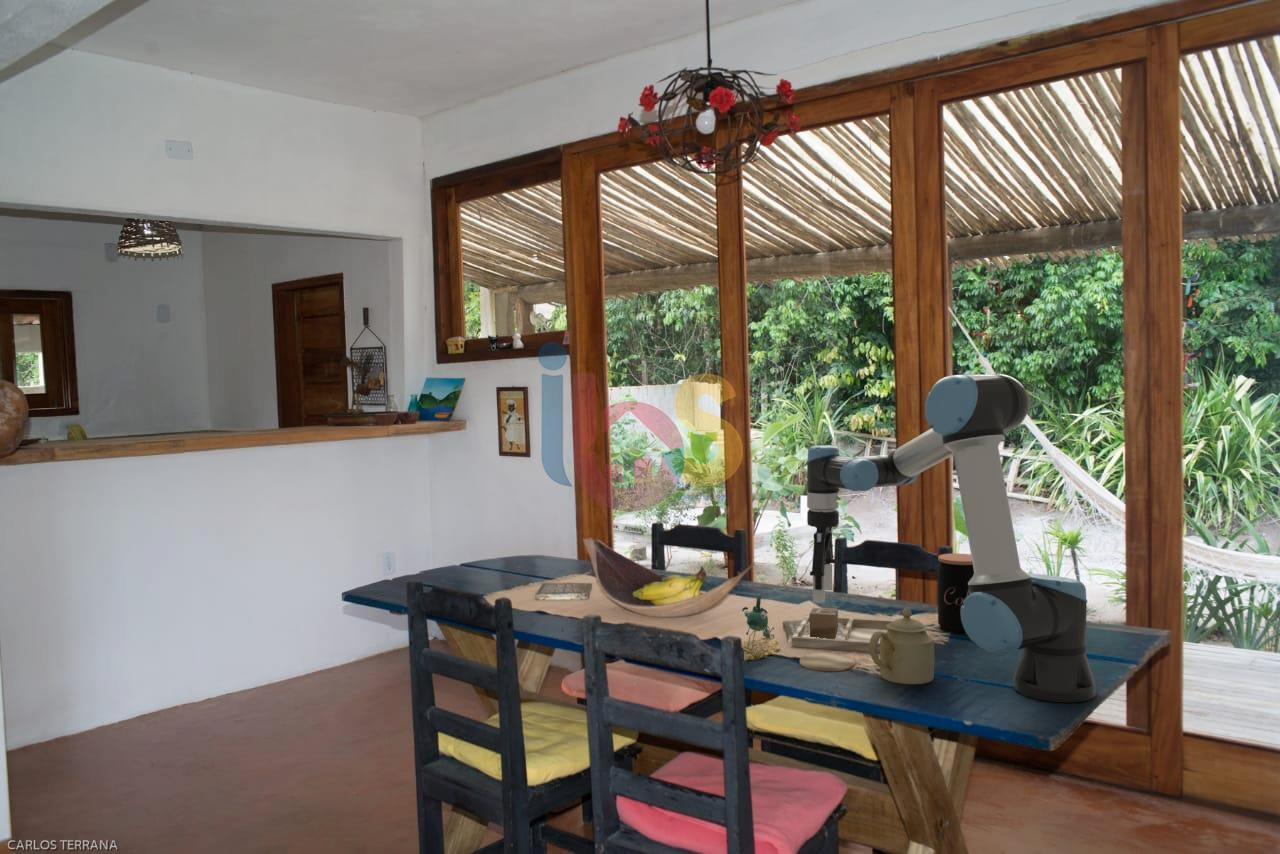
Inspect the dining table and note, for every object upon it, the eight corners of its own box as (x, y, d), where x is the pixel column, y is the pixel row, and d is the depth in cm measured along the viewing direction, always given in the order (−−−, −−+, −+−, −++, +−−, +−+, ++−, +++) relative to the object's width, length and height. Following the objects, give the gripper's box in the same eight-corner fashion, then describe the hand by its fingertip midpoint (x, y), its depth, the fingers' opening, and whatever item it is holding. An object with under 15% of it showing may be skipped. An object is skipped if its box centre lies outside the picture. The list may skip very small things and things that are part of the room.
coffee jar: (939, 633, 240) (939, 560, 239) (936, 622, 250) (936, 552, 249) (985, 635, 237) (985, 561, 236) (980, 624, 248) (980, 553, 247)
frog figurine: (798, 646, 231) (795, 586, 229) (757, 673, 217) (754, 610, 215) (763, 639, 237) (759, 581, 235) (722, 665, 223) (718, 603, 221)
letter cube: (834, 639, 234) (834, 614, 234) (809, 637, 236) (809, 612, 235) (838, 633, 240) (837, 608, 239) (813, 631, 241) (813, 607, 241)
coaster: (851, 673, 209) (851, 671, 209) (795, 668, 213) (795, 666, 213) (857, 657, 220) (857, 655, 220) (804, 653, 224) (804, 651, 224)
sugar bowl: (921, 693, 195) (921, 619, 195) (867, 685, 201) (867, 613, 200) (940, 673, 208) (939, 603, 207) (888, 666, 214) (888, 598, 213)
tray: (892, 655, 222) (892, 644, 222) (791, 647, 229) (791, 637, 229) (898, 630, 243) (898, 620, 243) (806, 624, 250) (806, 615, 250)
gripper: (832, 517, 223) (831, 609, 224) (844, 502, 247) (844, 585, 248) (799, 516, 225) (799, 607, 227) (814, 501, 249) (814, 583, 250)
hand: (822, 596), depth 237 cm, fingers open, 13 cm apart
